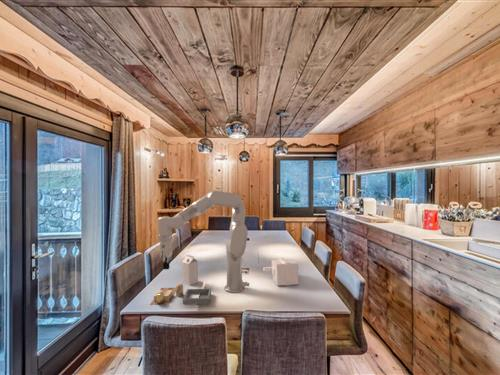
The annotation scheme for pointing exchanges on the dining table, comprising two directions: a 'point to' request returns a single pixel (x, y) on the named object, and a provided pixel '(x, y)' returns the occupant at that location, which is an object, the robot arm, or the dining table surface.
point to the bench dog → (160, 298)
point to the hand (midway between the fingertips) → (166, 268)
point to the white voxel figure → (284, 271)
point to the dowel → (179, 290)
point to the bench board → (164, 301)
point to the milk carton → (190, 270)
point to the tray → (203, 297)
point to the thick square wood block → (167, 294)
